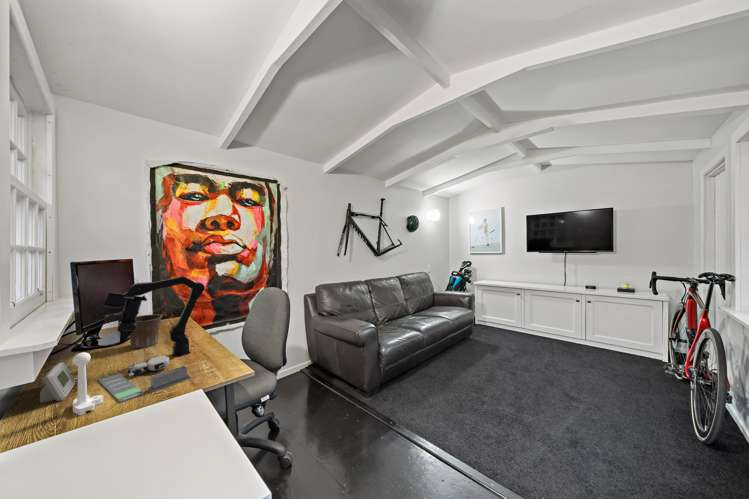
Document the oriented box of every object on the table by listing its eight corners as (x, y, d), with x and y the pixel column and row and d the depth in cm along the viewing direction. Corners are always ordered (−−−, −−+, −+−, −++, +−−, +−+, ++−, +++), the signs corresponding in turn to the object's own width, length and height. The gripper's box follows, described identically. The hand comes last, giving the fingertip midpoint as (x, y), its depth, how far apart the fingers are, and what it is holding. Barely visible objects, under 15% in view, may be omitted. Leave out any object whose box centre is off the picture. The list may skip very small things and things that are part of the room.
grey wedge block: (186, 376, 122) (186, 364, 122) (190, 378, 120) (190, 367, 120) (147, 389, 110) (147, 377, 110) (151, 392, 108) (151, 380, 108)
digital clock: (62, 402, 102) (62, 373, 101) (27, 408, 98) (27, 379, 98) (85, 382, 116) (85, 357, 116) (55, 387, 112) (55, 361, 112)
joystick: (70, 405, 99) (70, 351, 99) (100, 396, 105) (99, 345, 105) (75, 417, 92) (74, 358, 92) (106, 406, 99) (105, 351, 98)
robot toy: (129, 382, 118) (171, 369, 128) (127, 372, 118) (170, 359, 128) (127, 373, 127) (167, 361, 137) (126, 363, 126) (167, 352, 137)
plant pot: (168, 342, 164) (168, 316, 164) (136, 352, 150) (135, 322, 149) (152, 338, 171) (152, 313, 171) (120, 347, 156) (120, 319, 156)
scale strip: (119, 374, 124) (119, 372, 124) (144, 394, 107) (144, 392, 107) (97, 380, 118) (97, 379, 118) (120, 403, 101) (120, 401, 101)
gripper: (110, 303, 135) (99, 335, 133) (108, 310, 122) (96, 346, 119) (139, 306, 143) (129, 336, 140) (140, 312, 129) (129, 346, 127)
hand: (121, 341), depth 132 cm, fingers open, 9 cm apart
